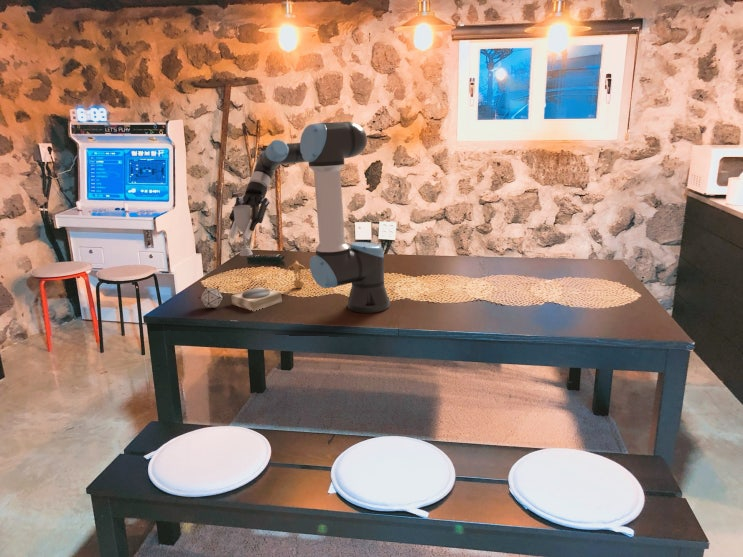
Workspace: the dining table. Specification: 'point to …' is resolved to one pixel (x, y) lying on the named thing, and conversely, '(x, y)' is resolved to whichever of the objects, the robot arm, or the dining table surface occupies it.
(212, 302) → the game die
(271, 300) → the pedestal
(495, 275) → the dining table surface
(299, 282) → the figurine
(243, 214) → the chalice
